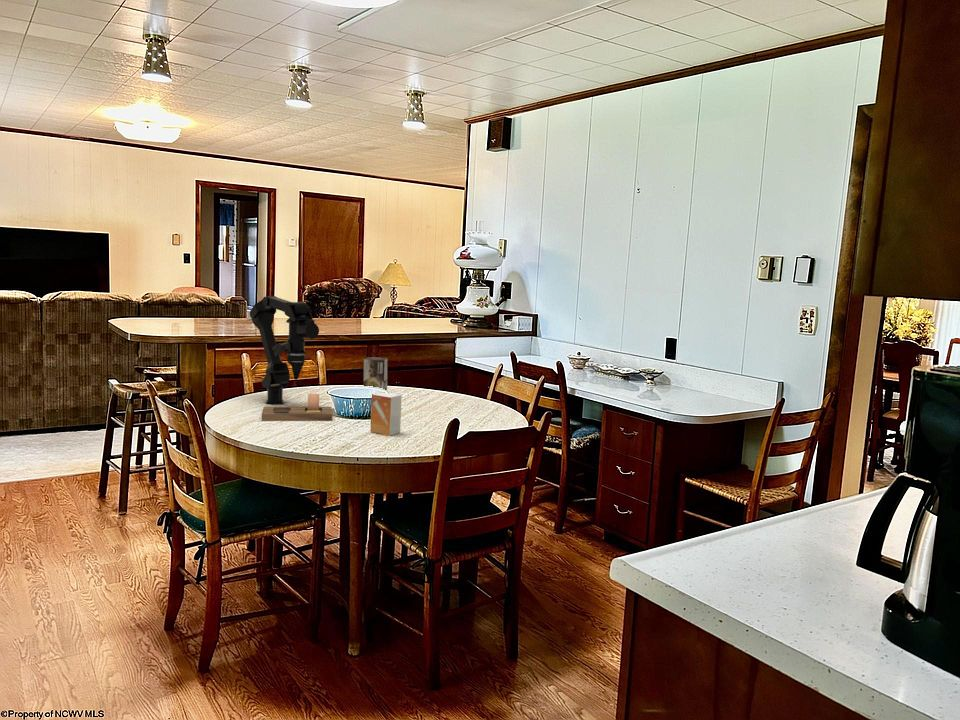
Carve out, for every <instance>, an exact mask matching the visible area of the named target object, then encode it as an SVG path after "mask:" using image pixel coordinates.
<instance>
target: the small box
mask: <svg viewBox="0 0 960 720" xmlns="http://www.w3.org/2000/svg"><path fill="white" fill-rule="evenodd" d="M402 398H403V397H402V394H398V393H390V392H387V393H385V392H380V393H375V394H372V397H371V406H370V407H371V408H370V409H371V410H370V433H375V434H380V435H385V436H389V437H390V436H393V435H396V434H400V433H401V423H402V422H401V418H402Z"/></svg>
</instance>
